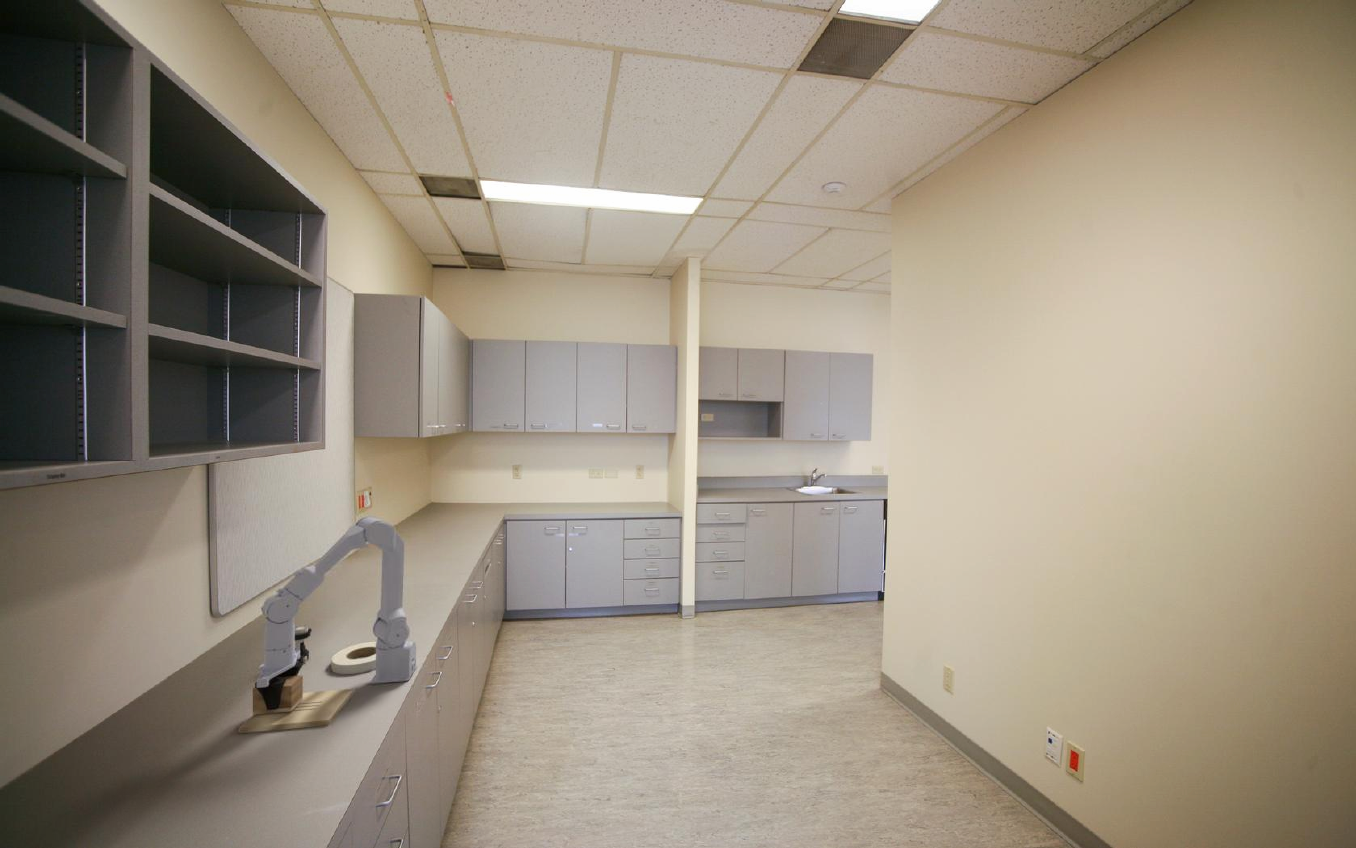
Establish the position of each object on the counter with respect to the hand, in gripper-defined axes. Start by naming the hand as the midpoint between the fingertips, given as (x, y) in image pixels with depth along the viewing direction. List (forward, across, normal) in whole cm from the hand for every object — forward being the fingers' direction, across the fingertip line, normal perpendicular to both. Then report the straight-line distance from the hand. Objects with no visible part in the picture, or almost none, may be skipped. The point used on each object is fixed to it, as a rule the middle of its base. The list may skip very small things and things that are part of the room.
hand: (279, 702), depth 123 cm
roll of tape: (+3, -26, +8) cm, 28 cm away
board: (+3, 0, +4) cm, 5 cm away
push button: (+3, -27, -8) cm, 28 cm away
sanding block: (+1, 0, 0) cm, 1 cm away
